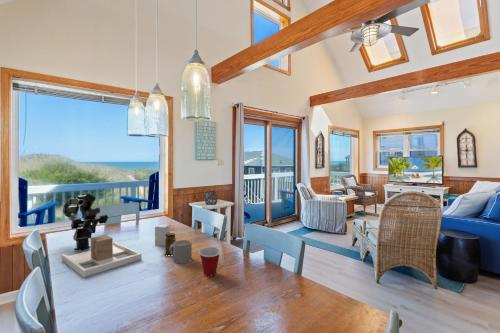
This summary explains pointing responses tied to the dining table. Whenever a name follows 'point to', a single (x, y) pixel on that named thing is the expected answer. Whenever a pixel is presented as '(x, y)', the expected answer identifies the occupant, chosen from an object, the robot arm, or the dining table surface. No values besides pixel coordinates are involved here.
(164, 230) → the supplement box
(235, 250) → the dining table surface
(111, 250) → the walnut block
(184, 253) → the coffee mug
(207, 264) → the plastic cup
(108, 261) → the white recessed tray
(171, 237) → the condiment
